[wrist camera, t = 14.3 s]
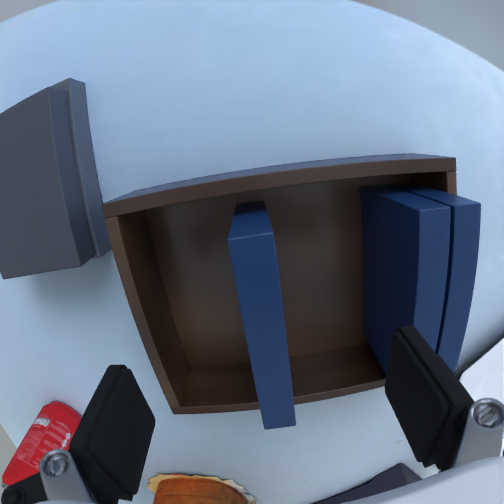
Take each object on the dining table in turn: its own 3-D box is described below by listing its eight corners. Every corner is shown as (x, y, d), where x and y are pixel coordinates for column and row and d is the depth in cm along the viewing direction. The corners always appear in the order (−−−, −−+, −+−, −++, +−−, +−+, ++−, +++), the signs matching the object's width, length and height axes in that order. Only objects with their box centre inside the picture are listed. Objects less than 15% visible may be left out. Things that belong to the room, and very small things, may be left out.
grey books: (2, 123, 15) (-34, 124, 12) (84, 82, 15) (50, 71, 11) (30, 262, 19) (-2, 283, 15) (114, 246, 18) (85, 269, 15)
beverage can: (80, 404, 23) (32, 499, 12) (94, 436, 25) (58, 522, 14) (40, 393, 23) (-12, 474, 12) (55, 424, 25) (16, 501, 14)
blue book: (235, 204, 17) (226, 238, 11) (264, 199, 17) (273, 232, 10) (260, 351, 20) (264, 430, 14) (283, 347, 20) (296, 425, 14)
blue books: (358, 186, 17) (419, 210, 10) (408, 181, 17) (481, 203, 10) (362, 332, 20) (399, 401, 13) (405, 323, 20) (451, 384, 13)
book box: (134, 190, 17) (100, 204, 13) (414, 153, 17) (455, 157, 12) (184, 370, 22) (173, 414, 17) (409, 334, 21) (436, 370, 17)
